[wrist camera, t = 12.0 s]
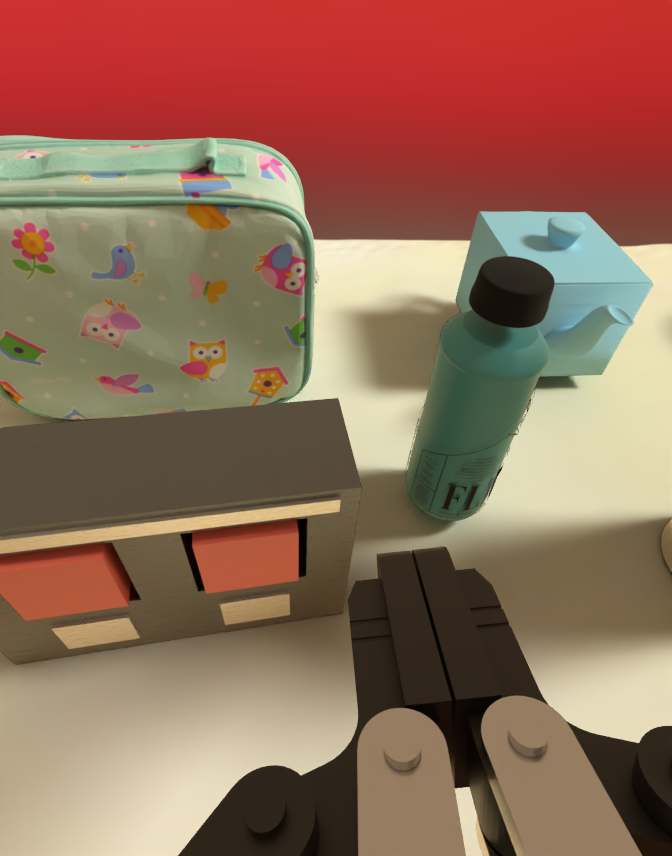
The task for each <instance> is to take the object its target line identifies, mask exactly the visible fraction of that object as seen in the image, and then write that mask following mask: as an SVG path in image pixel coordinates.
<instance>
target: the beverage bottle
mask: <svg viewBox="0 0 672 856" xmlns="http://www.w3.org/2000/svg"><path fill="white" fill-rule="evenodd" d="M554 284H555V281H554V277H553V275H552V274H551V273H550V272H549V271H548V270H547V269H546V268H545V267H543V266H542V265H540V264H538V263H536V262H534V261H531V260H528V259H525V258H520V257H513V256H502V257H495V258H491V259H489V260H487V261H485V262H484V263H483V264H482V266H481V267H480V269H479V272H478V275H477V277H476V280H475V283H474V285H473V286H472V289H471V292H470V295H469V304H470V306H471V308H472V309H470V310H467V311H464V312H462V313H460V314H458V315H456V316H454V317H453V318H451V319H450V320H449V321H448V322H447V323H446V324H445V325H444V326H443V328H442V330H441V334H440V343H439V347H438V351H437V356H436V360H435V364H434V368H433V372H432V376H431V380H430V384H429V389H428V393H427V397H426V401H425V404H424V409H423V412H422V415H421V418H420V422H419V426H418V430H417V431H416V432H417V434H416V438H415V436H414V437H413V438H415V441H414V447H413V448H412V449H413V451H412V455H411V458H410V463H408V462H409V461H408V462H407V464H409V467H408V471H407V475H406V485H407V490H408V493H409V496H410V498H411V499H412V501H413V502H414V503H415V505H416V506H417V507H418V508H419V509H421V510H422V511H423V512H425V513H426V514H428V515H430V516H432V517H435V518H437V519H441V520H446V521H458V520H463V519H465V518H468V517H470V516H472V515H473V514H475V513H477V511H478V510H479V509H480V508H481V507H482V505H484V504H485V503H484V501H485V499H486V497H487V495H488V492H489V496H490V494H491V491H492V489H493V486H494V484H495V481H496V479H497V476H498V475H499V473H500V471H501V470H502V467H503V466H502V467H501V464H502V461H503V459H504V457H505V455H506V452H507V453H509V452H508V451H507V450H508V448H509V450H510V444H511V441H512V439H513V437H514V435H516V434H515V432H516V430H518V426H519V424H520V423H521V422H520V421H521V419H522V417H523V415H524V412H525V410H526V408H527V407H530V406H528V404H529V402H531V399H530V398H531V395H532V393H533V391H534V388H535V386H536V384H537V382H538V379H539V377H540V375H541V372H542V371H543V369H544V368H545V366H546V365H547V362H548V359H549V348H548V345H547V342H546V340H545V339H544V337H543V335H542V334H541V332H540V331H539V330H538V328H537V327H536V326H535V325H537V324H539V323H540V322H542V320H543V319H544V318H545V316H546V313H547V311H548V308H549V302H550V298H551V295H552V292H553V289H554ZM534 393H535V391H534ZM533 397H534V396H533ZM530 404H531V403H530ZM530 404H529V405H530ZM527 409H528V410H529V408H527ZM528 410H527V412H528ZM419 415H420V414H419ZM525 415H526V414H525ZM418 418H419V417H418ZM523 419H524V418H523ZM418 421H419V420H418ZM523 421H524V420H523ZM523 421H522V422H523ZM417 424H418V423H417ZM520 427H521V425H520ZM518 432H519V430H518ZM517 434H518V433H517ZM413 440H414V439H413ZM412 443H413V442H412ZM412 445H413V444H412ZM411 447H412V446H411ZM412 449H411V450H412ZM411 450H410V453H411ZM409 455H410V454H409ZM507 455H508V454H507ZM408 460H409V458H408ZM503 464H504V463H503ZM406 467H407V466H406ZM500 467H501V468H500ZM499 468H500V469H499ZM498 470H499V471H498ZM405 471H406V470H405ZM490 488H491V490H490ZM489 496H488V498H489ZM486 500H487V499H486ZM483 503H484V504H483ZM480 510H481V509H480ZM480 510H479V511H480Z"/></svg>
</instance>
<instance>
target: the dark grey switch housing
mask: <svg viewBox="0 0 672 856" xmlns="http://www.w3.org/2000/svg"><path fill="white" fill-rule="evenodd" d="M361 489H362V487H361V483H360V479H359V475H358V471H357V468H356V464H355V460H354V456H353V453H352V449H351V445H350V441H349V437H348V434H347V430H346V426H345V422H344V418H343V415H342V411H341V407H340V403H339V400H338V398H335V399H324V400H312V401H301V402H290V403H278V404H267V405H255V406H244V407H232V408H221V409H210V410H198V411H187V412H175V413H164V414H152V415H141V416H129V417H118V418H107V419H95V420H84V421H72V422H61V423H49V424H38V425H27V426H15V427H4V428H0V556H6V555H14V554H22V553H30V552H38V551H46V550H54V549H62V548H70V547H78V546H86V545H94V544H102V543H110V542H112V544H113V546H114V548H115V550H116V551H117V553H118V555H119V557H120V559H121V561H122V563H123V565H124V567H125V569H126V571H127V573H128V575H129V577H130V579H131V584H130V595H129V605H128V606H125V607H118V608H111V609H104V610H97V611H90V612H84V613H77V614H70V615H63V616H56V617H49V618H42V619H35V620H28V621H25V620H24V618H23V617H22V616H21V615H20V614H19V613H18V612H17V611H16V610H15V609H14V608H13V607H12V606H11V605H10V604H9V603H8V602H7V601H6V600H5V599H4V598H3V596H2V595H1V594H0V652H2V653H3V654H4V655H5V656H6V657H7V658H9V659H10V660H11V661H12V662H13V663H14V664H22V663H28V662H35V661H41V660H48V659H54V658H60V657H67V656H73V655H80V654H86V653H92V652H99V651H105V650H112V649H118V648H124V647H131V646H137V645H144V644H150V643H156V642H163V641H169V640H175V639H182V638H188V637H195V636H201V635H207V634H214V633H220V632H227V631H233V630H239V629H246V628H252V627H259V626H265V625H271V624H278V623H284V622H291V621H297V620H303V619H310V618H316V617H323V616H329V615H335V614H342V613H343V607H344V601H345V594H346V588H347V581H348V574H349V568H350V561H351V555H352V548H353V542H354V535H355V528H356V522H357V515H358V509H359V502H360V495H361ZM295 519H297V525H298V532H299V581H292V582H285V583H278V584H271V585H264V586H257V587H250V588H243V589H236V590H230V591H223V592H216V593H209V594H206V591H205V588H204V584H203V581H202V577H201V574H200V571H199V567H198V564H197V560H196V557H195V554H194V550H193V547H192V532H199V531H207V530H215V529H223V528H231V527H239V526H247V525H255V524H263V523H271V522H279V521H287V520H295Z"/></svg>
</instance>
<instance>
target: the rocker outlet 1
mask: <svg viewBox="0 0 672 856" xmlns="http://www.w3.org/2000/svg"><path fill="white" fill-rule="evenodd" d="M130 584H131V579H130V577H129V575H128V573H127V571H126V569H125V567H124V565H123V563H122V561H121V559H120V557H119V555H118V553H117V551H116V550H115V548H114V546H113V544H112V542H110V543H102V544H94V545H86V546H78V547H70V548H62V549H54V550H46V551H38V552H30V553H22V554H14V555H6V556H0V594H1V595H2V596H3V598H4V599H5V600H6V601H7V602H8V603H9V604H10V605H11V606H12V607H13V608H14V609H15V610H16V611H17V612H18V613H19V614H20V615H21V616H22V617H23V618H24V620H25V621H28V620H35V619H42V618H49V617H56V616H63V615H70V614H77V613H84V612H90V611H97V610H104V609H111V608H118V607H125V606H128V605H129V595H130Z"/></svg>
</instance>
